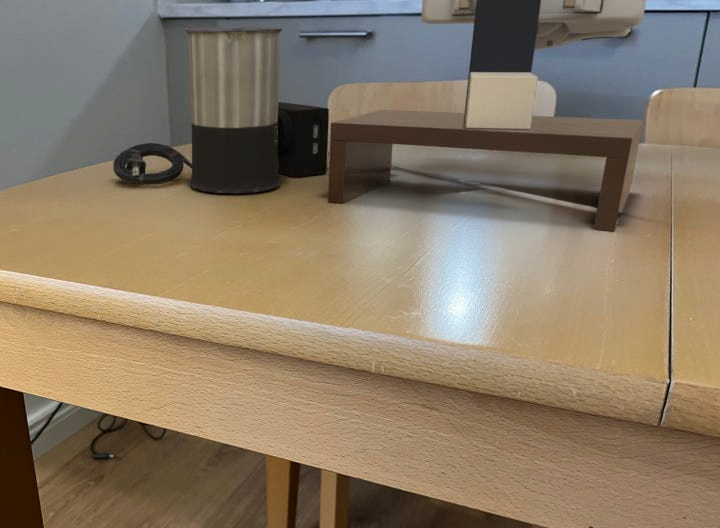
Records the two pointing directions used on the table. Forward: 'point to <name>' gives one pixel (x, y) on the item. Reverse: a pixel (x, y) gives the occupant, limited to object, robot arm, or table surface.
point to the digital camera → (302, 139)
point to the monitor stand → (446, 129)
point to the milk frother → (224, 115)
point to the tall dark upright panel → (502, 65)
